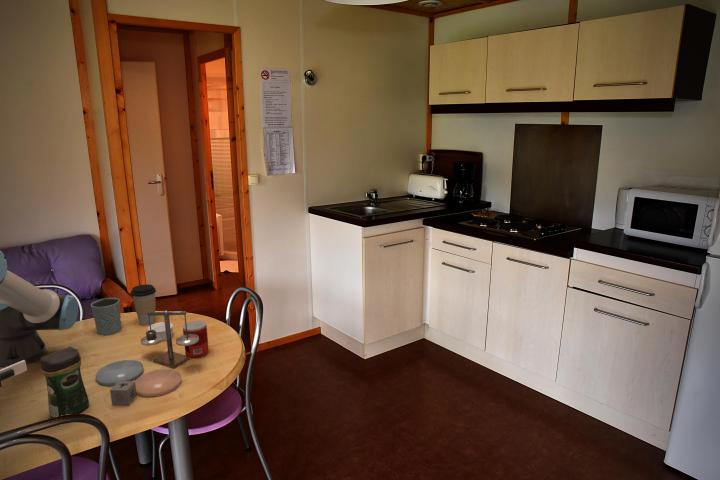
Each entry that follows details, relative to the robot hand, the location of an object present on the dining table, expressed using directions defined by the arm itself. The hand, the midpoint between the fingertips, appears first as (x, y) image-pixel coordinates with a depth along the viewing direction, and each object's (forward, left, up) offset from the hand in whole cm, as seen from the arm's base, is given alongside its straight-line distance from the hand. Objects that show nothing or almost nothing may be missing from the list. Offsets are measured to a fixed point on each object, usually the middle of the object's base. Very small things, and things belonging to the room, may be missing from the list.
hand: (9, 359), depth 126 cm
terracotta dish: (+13, +33, -21) cm, 41 cm away
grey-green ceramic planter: (-36, +53, -22) cm, 67 cm away
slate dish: (-3, +32, -21) cm, 38 cm away
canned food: (+9, +54, -22) cm, 59 cm away
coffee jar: (+1, +12, -22) cm, 25 cm away
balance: (+5, +46, -21) cm, 51 cm away
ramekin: (-13, +58, -22) cm, 63 cm away
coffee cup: (-29, +65, -22) cm, 74 cm away
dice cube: (+11, +22, -22) cm, 33 cm away
